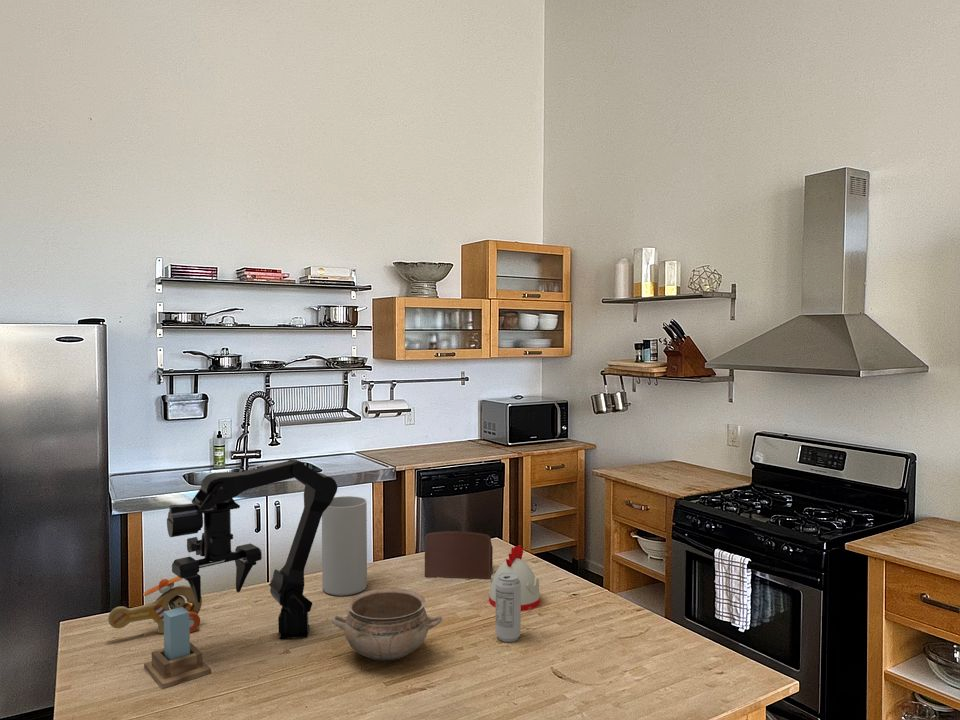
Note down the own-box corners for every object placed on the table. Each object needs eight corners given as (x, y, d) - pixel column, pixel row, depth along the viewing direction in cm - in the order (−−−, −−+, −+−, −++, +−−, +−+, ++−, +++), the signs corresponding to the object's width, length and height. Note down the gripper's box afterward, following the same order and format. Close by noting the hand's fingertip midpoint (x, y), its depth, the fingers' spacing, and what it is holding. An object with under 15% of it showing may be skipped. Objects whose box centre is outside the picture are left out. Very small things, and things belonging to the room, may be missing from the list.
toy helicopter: (205, 630, 176) (204, 575, 175) (110, 650, 165) (109, 592, 164) (198, 618, 183) (197, 565, 182) (107, 637, 172) (105, 581, 171)
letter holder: (490, 579, 211) (490, 532, 210) (424, 577, 212) (424, 531, 212) (492, 568, 221) (492, 523, 220) (429, 566, 222) (429, 521, 222)
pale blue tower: (183, 659, 158) (182, 606, 158) (190, 666, 155) (189, 612, 155) (164, 665, 156) (163, 611, 155) (171, 672, 153) (170, 617, 152)
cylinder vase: (362, 596, 197) (362, 507, 196) (317, 596, 197) (316, 507, 196) (370, 580, 210) (369, 496, 208) (328, 580, 210) (327, 496, 209)
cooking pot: (444, 637, 172) (444, 587, 172) (439, 676, 153) (439, 620, 153) (340, 636, 172) (339, 587, 172) (323, 675, 153) (322, 620, 153)
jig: (190, 653, 163) (189, 636, 163) (211, 672, 154) (210, 654, 154) (144, 668, 156) (143, 650, 156) (163, 688, 148) (162, 670, 147)
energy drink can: (525, 637, 172) (525, 576, 171) (509, 645, 168) (509, 582, 167) (506, 629, 176) (507, 570, 175) (490, 637, 172) (490, 576, 171)
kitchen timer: (548, 598, 197) (549, 544, 196) (524, 615, 185) (524, 558, 184) (505, 588, 204) (505, 536, 203) (479, 604, 193) (479, 549, 192)
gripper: (241, 515, 175) (242, 577, 175) (162, 529, 162) (163, 597, 163) (262, 524, 166) (263, 590, 167) (180, 541, 154) (181, 612, 155)
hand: (218, 596), depth 163 cm, fingers open, 9 cm apart
